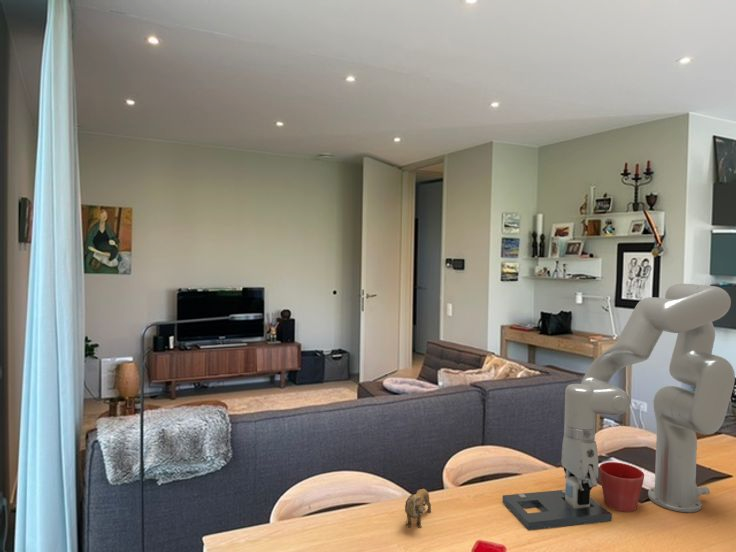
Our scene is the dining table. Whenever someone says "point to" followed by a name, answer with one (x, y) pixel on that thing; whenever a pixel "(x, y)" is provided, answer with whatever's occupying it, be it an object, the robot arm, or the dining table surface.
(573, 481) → the plug
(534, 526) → the panel
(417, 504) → the brown animal figurine
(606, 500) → the flower pot
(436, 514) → the dining table surface
